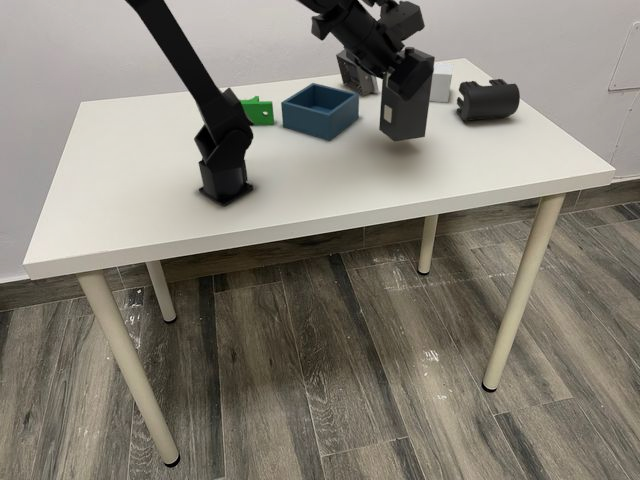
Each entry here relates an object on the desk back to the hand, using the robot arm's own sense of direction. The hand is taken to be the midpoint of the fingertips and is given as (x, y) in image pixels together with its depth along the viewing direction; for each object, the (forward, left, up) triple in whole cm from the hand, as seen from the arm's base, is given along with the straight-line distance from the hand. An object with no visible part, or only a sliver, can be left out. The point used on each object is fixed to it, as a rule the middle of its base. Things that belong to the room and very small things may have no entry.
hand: (413, 90), depth 81 cm
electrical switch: (+14, +23, -11) cm, 29 cm away
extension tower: (-2, 0, -7) cm, 8 cm away
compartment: (-3, +19, -10) cm, 22 cm away
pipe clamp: (-12, +31, -11) cm, 35 cm away
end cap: (+19, -5, -11) cm, 22 cm away
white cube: (+22, +8, -11) cm, 25 cm away
